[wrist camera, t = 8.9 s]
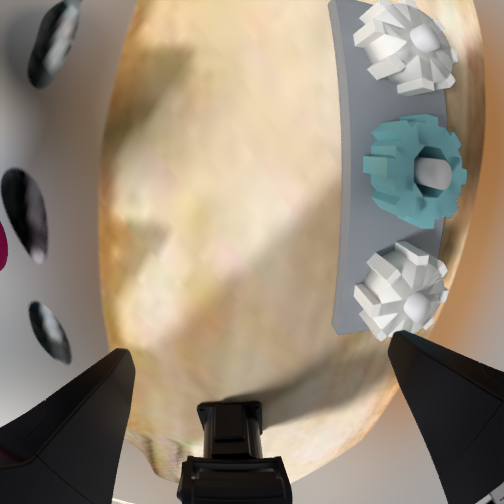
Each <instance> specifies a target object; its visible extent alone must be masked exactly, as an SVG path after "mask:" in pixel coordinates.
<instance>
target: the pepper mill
mask: <svg viewBox="0 0 504 504" xmlns="http://www.w3.org/2000/svg"><path fill="white" fill-rule="evenodd" d="M7 256H8V244H7V239H6V235H5V232H4V228H3V226H2V224H1V222H0V271H1V270H2V269H3V268H4V266H5V264H6V262H7Z"/></svg>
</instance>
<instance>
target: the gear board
mask: <svg viewBox="0 0 504 504" xmlns="http://www.w3.org/2000/svg"><path fill="white" fill-rule="evenodd" d="M328 8H329V14H330V20H331V26H332V33H333V40H334V47H335V56H336V65H337V75H338V86H339V99H340V116H341V141H342V203H341V229H340V247H339V261H338V273H337V284H336V294H335V303H334V312H333V320H332V326H333V328H334V330H335V332H336V333H337V335H343V334H349V333H354V332H360V331H365V330H371V331H372V333H373V334H374V336H375V337H376V338H377V339H379V340H380V341H381V342H382V341H383V340H384V339H385V338H386V337H387V336H389V337H392V335H393V333H394V332H396V331H400V330H406V331H408V332H411V333H413V334H414V333H415V332H417V331H419V330H420V329H421V328H422V327H423V328H424V329H425V330H427V329H428V328H429V327H430V326H431V324H432V323H433V322H434V320H433V319H432V317H433V315H434V314H435V312H436V311H437V309H438V307H439V305H440V303H442V302H446V299H447V295H448V291H449V290H448V289H446V288H445V287H444V282H443V276H444V275H445V274H446V273H447V271H448V270H447V268H446V266H445V264H444V263H443V262H442V261H440V260H438V255H439V250H440V244H441V237H442V230H443V223H444V217H443V218H442V219H435V221H434V228H431V229H421V228H419V227H417V226H415V225H413V224H411V223H409V222H407V221H404V220H402V219H400V218H398V217H397V215H395V214H392V213H390V212H388V211H386V210H383V209H381V208H379V206H378V205H377V204H376V202H375V201H374V200H373V199H372V197H371V196H372V195H373V194H374V193H375V192H376V189H375V188H374V187H373V185H372V184H371V174H368V173H363V156H371V146H372V145H373V144H374V143H375V141H376V140H377V139H376V138H375V136H374V135H373V134H372V132H373V131H374V130H375V129H376V128H377V127H378V126H379V125H380V124H381V123H385V122H393V121H400V117H403V116H411V115H420V114H428V115H432V116H435V117H438V126H439V127H443V128H446V130H447V114H446V102H445V93H444V89H445V88H451V86H452V85H453V84H454V83H455V81H456V80H455V79H454V77H453V76H452V74H451V71H452V67H453V64H454V63H458V57H457V53H456V50H454V49H452V48H450V46H449V43H448V41H447V39H446V37H445V35H444V34H443V32H442V31H443V30H444V29H445V28H444V27H443V25H442V24H441V23H440V22H439V21H438V19H437V18H434V19H431V18H430V17H429V16H428V15H426V14H425V13H424V12H422V11H421V10H419V9H418V7H417V4H416V2H414V1H412V0H400V1H399V2H397V3H395V4H392V3H391V2H390V1H389V0H380V1H378V2H377V3H376V4H375V5H372V4H368V3H364V2H361V1H357V0H331V1H330V2H329V3H328ZM447 132H448V131H447ZM451 180H452V170H451V167H450V165H449V164H448V162H446V161H445V160H440V159H432V158H423V157H420V156H419V154H418V155H417V156H416V157H415V159H414V183H415V184H416V185H417V184H420V185H424V186H428V187H432V188H436V189H440V190H445V189H447V188H448V187H449V185H450V183H451Z"/></svg>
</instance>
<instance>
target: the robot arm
mask: <svg viewBox="0 0 504 504" xmlns="http://www.w3.org/2000/svg"><path fill="white" fill-rule="evenodd" d="M388 356H389V359H390V361H391V364H392V367H393V369H394V372H395V375H396V377H397V380H398V383H399V386H400V388H401V390H402V393H403V395H404V397H405V399H406V401H407V403H408V405H409V407H410V409H411V412H412V414H413V416H414V418H415V420H416V423H417V425H418V427H419V429H420V432H421V434H422V436H423V438H424V441H425V443H426V446H427V448H428V450H429V452H430V455H431V457H432V460H433V463H434V465H435V468H436V470H437V473H438V475H439V479H440V481H441V484H442V487H443V489H444V493H445V495H446V498H447V501H448V504H475V503H477V502H478V501H479V500H481V499H483V498H484V497H485V496H487V495H488V494H489V495H490V497H491V499H490V500H489V501H488V502H487V503H485V504H504V372H502V371H499V370H497V369H494V368H492V367H489V366H487V365H485V364H482V363H479V362H478V361H475V360H473V359H471V358H468V357H466V356H464V355H461V354H459V353H456V352H454V351H452V350H450V349H447V348H445V347H443V346H440V345H438V344H436V343H433V342H431V341H429V340H427V339H424V338H422V337H420V336H418V335H415V334H413V333H411V332H408V331H406V330H400V331H396V332H394V333H393V335H392V339H391V342H390V345H389V348H388ZM135 372H136V371H135V366H134V363H133V360H132V357H131V354H130V351H129V350H128V349H123V348H116V349H115V350H113V351H112V352H111V353H109V354H108V355H106V356H105V357H104V358H102V359H101V360H99V361H98V362H97V363H95V364H94V365H93V366H91V367H90V368H88V369H87V370H86V371H84V372H83V373H81V374H80V375H79V376H77V377H76V378H74V379H73V380H72V381H70V382H69V383H67V384H66V385H65V386H63V387H62V388H60V389H59V390H58V391H56V392H55V393H53V394H52V395H51V396H49V397H48V398H46V401H45V400H44V401H42V402H41V403H39V404H38V405H37V406H35V407H34V408H32V409H31V410H29V411H28V412H26V413H25V414H23V415H21V416H20V417H18V418H16V419H15V420H13V421H11V422H9V423H8V424H6V425H4V426H2V427H1V428H0V504H111V503H112V497H113V490H114V484H115V479H116V474H117V468H118V463H119V458H120V453H121V449H122V444H123V440H124V435H125V431H126V427H127V423H128V419H129V414H130V409H131V402H132V394H133V387H134V380H135ZM197 412H198V415H199V418H200V421H201V424H202V427H203V430H204V457H203V458H202V457H194V456H188V457H187V461H185V462H182V471H181V478H180V482H179V486H178V490H177V498H178V499H179V500H180V501H181V502H182V504H292V490H291V485H290V482H289V479H288V476H287V473H286V470H285V467H284V464H283V461H282V458H281V456H277V457H274V458H263V455H262V447H261V439H260V435H262V408H261V403H260V402H246V403H230V404H200V405H198V406H197Z"/></svg>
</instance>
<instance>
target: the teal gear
mask: <svg viewBox="0 0 504 504" xmlns="http://www.w3.org/2000/svg"><path fill="white" fill-rule="evenodd" d="M372 134H373V135H374V136H375V138H376V139H377V140H376V141H375V143H374V144H373V145H372V146H371V156H363V173H368V174H371V184H372V185H373V187H374V188H375V189H376V192H375V193H374V194H373V195H372V196H371V197H372V199H373V200H374V201H375V202H376V204H377V205H378V206H379V208H381V209H383V210H386V211H388V212H390V213H392V214H395V215H397V217H398V218H400V219H402V220H404V221H407V222H409V223H411V224H413V225H415V226H417V227H419V228H421V229H431V228H434V221H435V219H442V218H443V217H444V216H446V217H448V218H451V217H452V216H453V214H454V213H455V212H456V210H457V209H458V208H459V207H458V205H457V203H456V200H457V198H458V197H459V196H460V193H461V184H462V185H466V179H467V169H462V157H461V155H460V153H459V151H458V149H459V148H460V147H461V143H460V141H459V139H458V137H457V136H456V134H455V132H447V130H446V128H443V127H439V126H438V117H435V116H432V115H428V114H420V115H411V116H403V117H400V121H393V122H385V123H381V124H380V125H379V126H378V127H377V128H376V129H375V130H374V131H373V132H372ZM418 154H419V156H420V157H423V158H432V159H440V160H445V161H446V162H448V164H449V165H450V167H451V170H452V180H451V183H450V185H449V187H448V188H447V189H445V190H440V189H436V188H432V187H428V186H424V185H420V184H417V185H416V184H415V183H414V159H415V157H416V156H417V155H418Z"/></svg>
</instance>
